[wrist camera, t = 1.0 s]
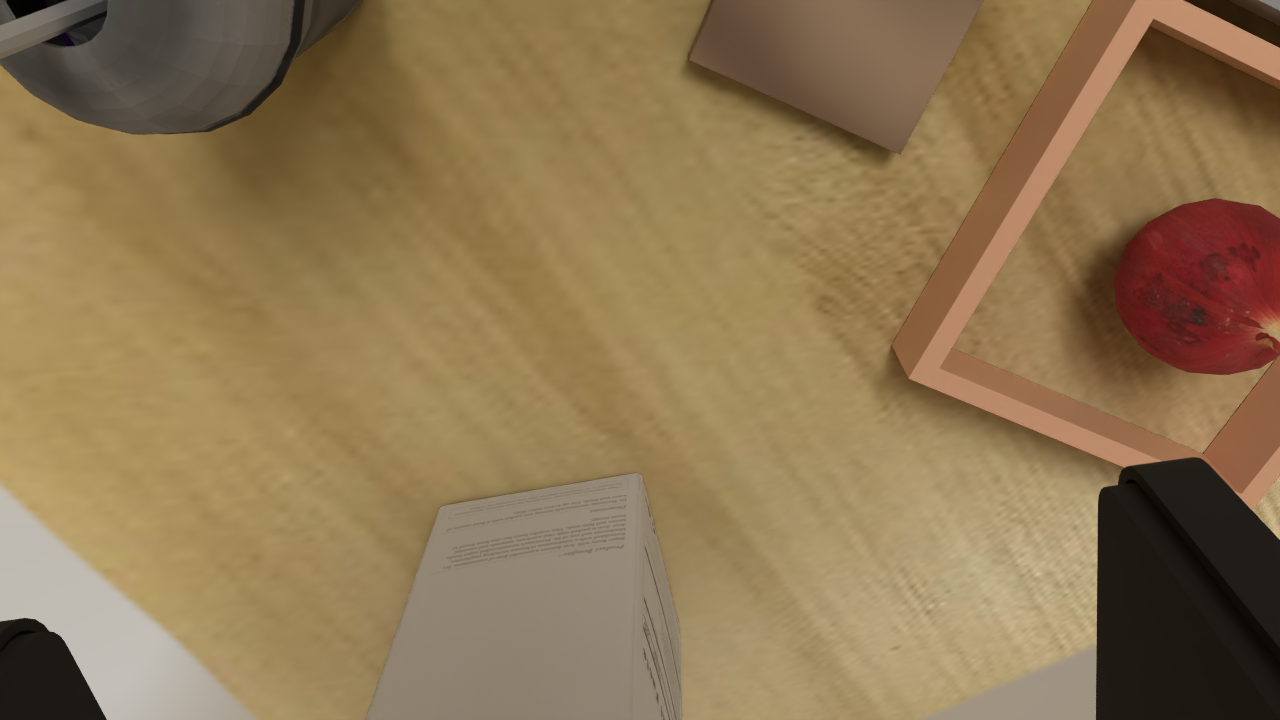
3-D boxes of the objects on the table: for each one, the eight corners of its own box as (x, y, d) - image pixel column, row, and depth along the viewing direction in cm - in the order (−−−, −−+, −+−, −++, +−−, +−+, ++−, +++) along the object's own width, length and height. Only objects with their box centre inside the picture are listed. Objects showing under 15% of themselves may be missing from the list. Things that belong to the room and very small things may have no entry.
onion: (1062, 314, 38) (1154, 411, 31) (1110, 165, 36) (1221, 233, 29) (1211, 332, 39) (1338, 433, 31) (1269, 186, 36) (1419, 258, 29)
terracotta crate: (1107, -25, 33) (1146, -18, 31) (1461, 150, 35) (1528, 170, 33) (891, 345, 39) (908, 378, 36) (1207, 476, 41) (1245, 517, 38)
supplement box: (491, 665, 46) (417, 984, 33) (436, 501, 43) (327, 784, 29) (686, 636, 45) (693, 954, 32) (646, 467, 42) (636, 743, 28)
